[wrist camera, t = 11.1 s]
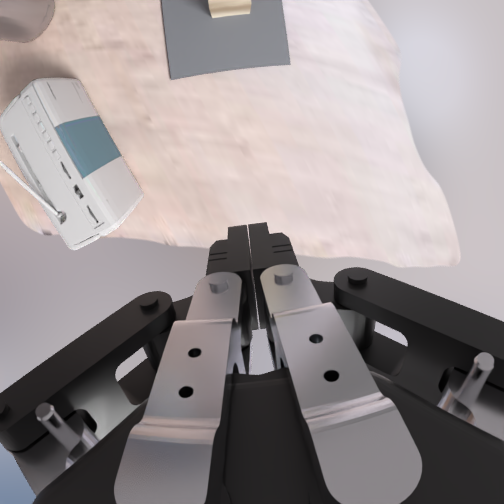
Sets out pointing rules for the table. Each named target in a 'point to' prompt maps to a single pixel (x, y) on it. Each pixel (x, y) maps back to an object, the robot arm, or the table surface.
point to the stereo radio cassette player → (69, 160)
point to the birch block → (229, 7)
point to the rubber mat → (223, 37)
